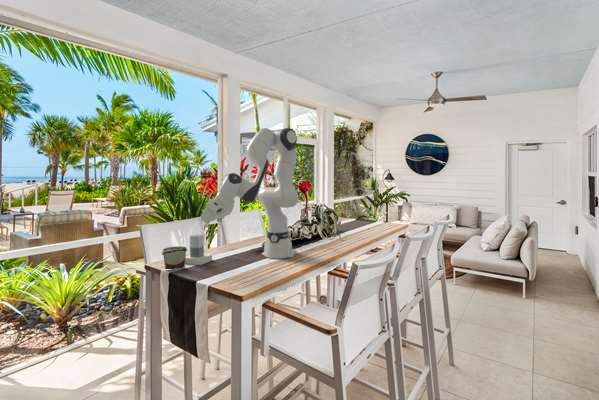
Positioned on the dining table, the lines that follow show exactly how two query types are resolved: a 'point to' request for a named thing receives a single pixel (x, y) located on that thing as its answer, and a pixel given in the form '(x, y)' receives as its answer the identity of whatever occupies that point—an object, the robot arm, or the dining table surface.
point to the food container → (174, 257)
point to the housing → (196, 245)
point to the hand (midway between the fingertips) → (212, 223)
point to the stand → (198, 259)
